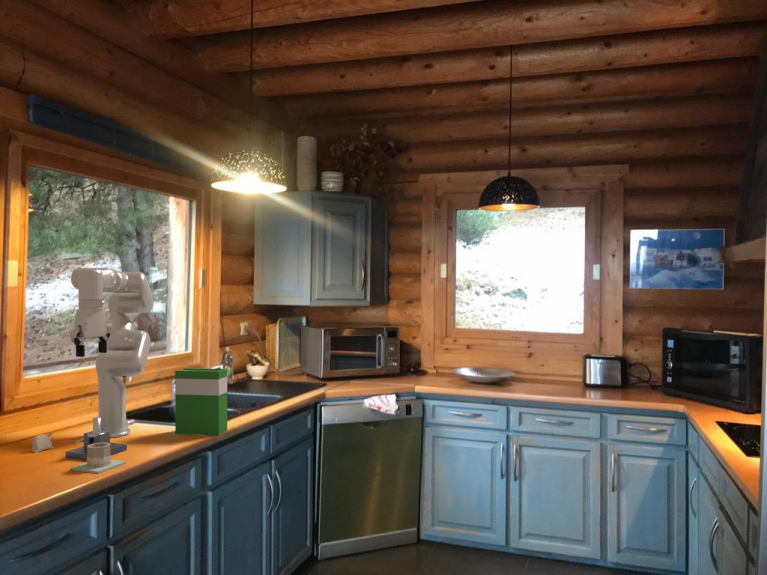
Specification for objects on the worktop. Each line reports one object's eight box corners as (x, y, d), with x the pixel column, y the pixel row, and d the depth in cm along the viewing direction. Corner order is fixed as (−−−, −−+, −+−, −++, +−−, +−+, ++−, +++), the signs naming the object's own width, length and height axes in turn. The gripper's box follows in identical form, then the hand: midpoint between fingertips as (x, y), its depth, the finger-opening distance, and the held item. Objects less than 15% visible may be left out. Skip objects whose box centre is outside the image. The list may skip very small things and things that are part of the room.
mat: (98, 460, 192) (98, 458, 192) (125, 463, 188) (125, 461, 188) (70, 469, 181) (70, 467, 181) (98, 473, 177) (98, 471, 177)
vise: (98, 447, 208) (98, 412, 208) (126, 450, 203) (126, 414, 204) (64, 457, 195) (64, 420, 195) (93, 461, 190) (93, 423, 190)
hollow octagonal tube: (99, 460, 189) (99, 441, 189) (115, 462, 187) (115, 443, 187) (82, 466, 183) (82, 446, 183) (98, 468, 181) (98, 448, 181)
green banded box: (175, 433, 227) (175, 370, 227) (184, 429, 234) (184, 368, 234) (218, 435, 224) (218, 371, 224) (227, 430, 231) (227, 368, 231)
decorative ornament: (27, 451, 202) (27, 436, 202) (50, 446, 210) (50, 430, 210) (35, 453, 201) (35, 437, 201) (58, 447, 208) (58, 432, 208)
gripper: (101, 303, 213) (102, 350, 213) (61, 306, 196) (62, 357, 197) (118, 303, 210) (119, 351, 211) (79, 306, 194) (80, 359, 194)
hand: (91, 354), depth 204 cm, fingers open, 9 cm apart
